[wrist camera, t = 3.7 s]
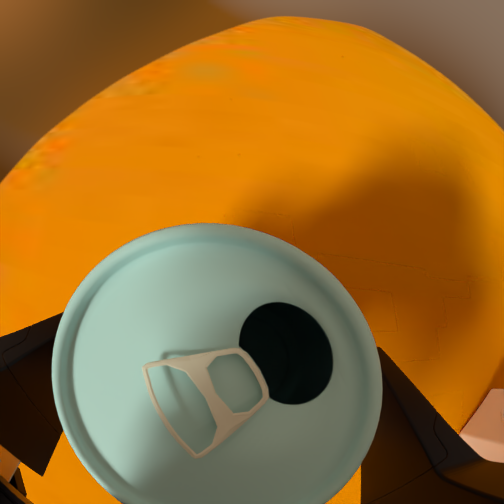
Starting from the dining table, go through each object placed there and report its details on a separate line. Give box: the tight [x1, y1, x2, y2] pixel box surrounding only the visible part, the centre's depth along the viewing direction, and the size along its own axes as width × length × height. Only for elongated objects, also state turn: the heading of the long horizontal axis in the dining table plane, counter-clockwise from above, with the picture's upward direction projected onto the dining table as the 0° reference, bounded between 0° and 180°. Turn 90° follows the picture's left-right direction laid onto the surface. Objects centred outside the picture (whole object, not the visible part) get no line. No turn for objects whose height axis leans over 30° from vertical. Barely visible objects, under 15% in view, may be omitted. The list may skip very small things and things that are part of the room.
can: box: [52, 223, 383, 504], centre depth 9 cm, size 7×7×12 cm
